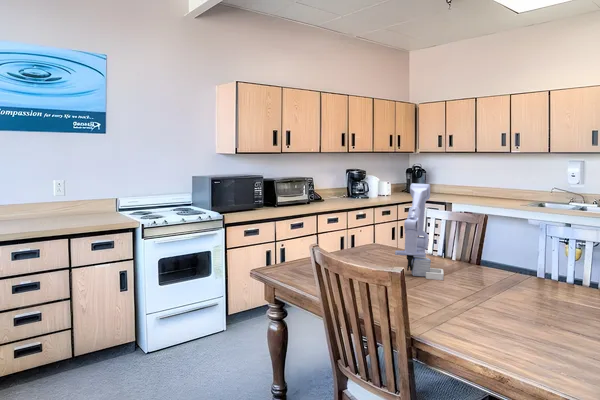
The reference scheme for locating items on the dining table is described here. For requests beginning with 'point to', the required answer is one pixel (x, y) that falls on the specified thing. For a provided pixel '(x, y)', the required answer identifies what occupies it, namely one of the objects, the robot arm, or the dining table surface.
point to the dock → (435, 274)
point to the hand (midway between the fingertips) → (409, 270)
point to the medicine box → (420, 266)
